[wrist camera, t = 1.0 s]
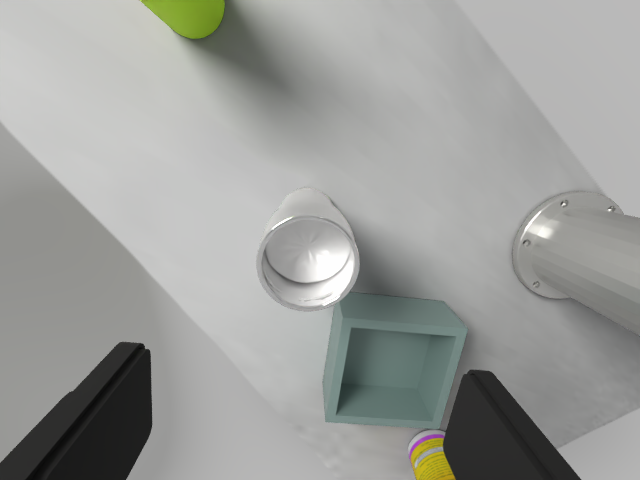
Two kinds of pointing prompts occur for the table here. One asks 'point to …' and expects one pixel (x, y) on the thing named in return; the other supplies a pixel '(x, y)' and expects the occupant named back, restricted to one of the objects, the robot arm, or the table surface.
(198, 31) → the soap dispenser
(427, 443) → the supplement bottle
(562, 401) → the table surface
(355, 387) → the box
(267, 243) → the beer glass
